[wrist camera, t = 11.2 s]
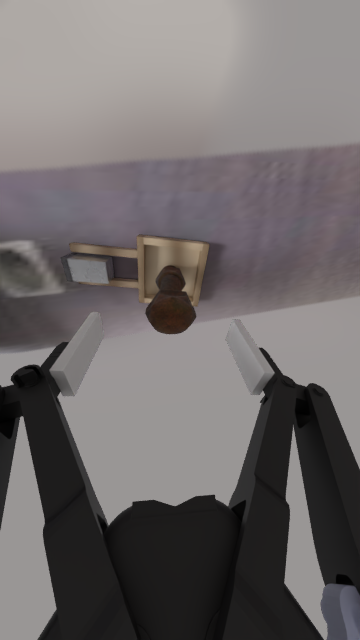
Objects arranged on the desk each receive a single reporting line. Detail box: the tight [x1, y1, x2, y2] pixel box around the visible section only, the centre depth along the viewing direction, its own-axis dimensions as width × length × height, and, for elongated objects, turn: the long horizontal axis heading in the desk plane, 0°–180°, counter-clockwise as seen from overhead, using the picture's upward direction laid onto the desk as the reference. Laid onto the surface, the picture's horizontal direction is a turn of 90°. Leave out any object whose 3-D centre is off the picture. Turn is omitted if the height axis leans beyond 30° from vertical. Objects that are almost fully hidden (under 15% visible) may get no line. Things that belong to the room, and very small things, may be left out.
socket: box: [69, 234, 209, 306], centre depth 29 cm, size 23×12×2 cm, turn 84°
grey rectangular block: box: [61, 253, 114, 284], centre depth 28 cm, size 6×4×4 cm, turn 84°
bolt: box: [145, 265, 196, 334], centre depth 24 cm, size 6×5×15 cm
